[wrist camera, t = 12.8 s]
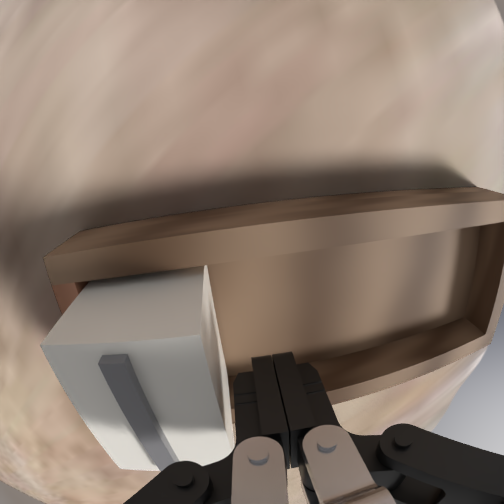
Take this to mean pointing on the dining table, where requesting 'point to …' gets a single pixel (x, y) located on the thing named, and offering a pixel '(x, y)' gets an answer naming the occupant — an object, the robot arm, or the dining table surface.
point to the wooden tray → (324, 278)
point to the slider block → (147, 368)
